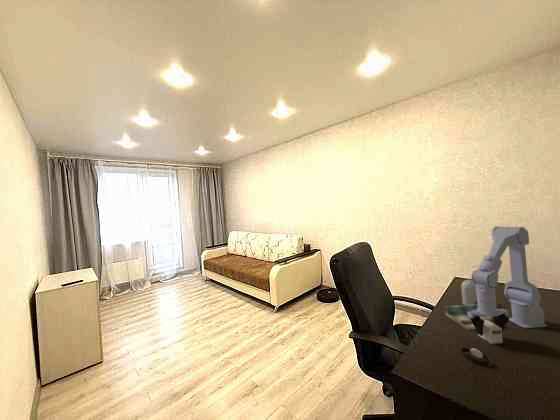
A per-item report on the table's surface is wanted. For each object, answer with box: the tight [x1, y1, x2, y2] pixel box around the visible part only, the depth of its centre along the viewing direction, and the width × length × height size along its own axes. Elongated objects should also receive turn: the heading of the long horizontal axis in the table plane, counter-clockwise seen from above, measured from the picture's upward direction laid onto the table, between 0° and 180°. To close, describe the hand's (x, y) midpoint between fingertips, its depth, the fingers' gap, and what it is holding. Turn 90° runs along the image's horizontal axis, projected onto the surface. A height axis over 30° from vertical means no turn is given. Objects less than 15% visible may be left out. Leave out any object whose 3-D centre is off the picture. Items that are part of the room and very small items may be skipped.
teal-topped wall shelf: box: [444, 303, 507, 331], centre depth 104 cm, size 16×14×4 cm
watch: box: [461, 347, 490, 366], centre depth 79 cm, size 8×5×4 cm, turn 32°
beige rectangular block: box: [477, 320, 504, 345], centre depth 90 cm, size 4×6×6 cm
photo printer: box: [460, 279, 477, 305], centre depth 120 cm, size 10×4×12 cm, turn 123°
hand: (489, 333), depth 90 cm, fingers open, 7 cm apart
